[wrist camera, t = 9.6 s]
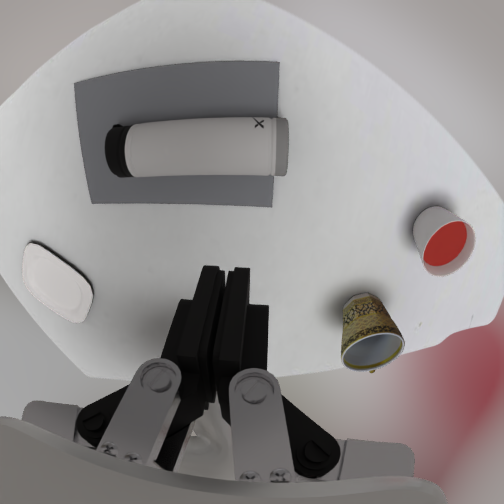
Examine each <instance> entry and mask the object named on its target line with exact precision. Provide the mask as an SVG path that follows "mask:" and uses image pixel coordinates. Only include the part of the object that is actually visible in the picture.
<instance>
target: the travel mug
mask: <svg viewBox="0 0 504 504" xmlns="http://www.w3.org/2000/svg"><path fill="white" fill-rule="evenodd" d="M104 148H105V157H106V161H107V164H108V167H109V169H110V171H111V172H112V173H113V174H114V175H117V177H119V178H126V177H153V176H180V175H262V176H268V175H270V174H271V175H272V176H285V175H286V173H287V166H288V149H289V127H288V120H287V119H286V118H273V119H270V118H265V117H224V118H198V119H182V120H169V121H158V122H149V123H142V124H135V125H130V126H122V125H120V124H115V125H113V127H112V129H110V130H109V131H108V133H107V135H106V139H105V147H104Z"/></svg>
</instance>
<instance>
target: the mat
mask: <svg viewBox="0 0 504 504" xmlns="http://www.w3.org/2000/svg"><path fill="white" fill-rule="evenodd" d="M279 64H280V62H261V61H218V62H198V63H185V64H174V65H165V66H157V67H150V68H143V69H137V70H131V71H125V72H120V73H115V74H110V75H106V76H101V77H97V78H93V79H89V80H85V81H81V82H77V83H74V88H75V101H76V112H77V121H78V129H79V137H80V144H81V150H82V157H83V162H84V168H85V173H86V179H87V184H88V188H89V193H90V198H91V202H92V204H106V203H159V204H206V205H234V206H255V207H272V199H273V183H274V176H272V175H271V174H270V175H268V176H262V175H180V176H153V177H126V178H119V177H117V175H114V174H113V173H112V172H111V171H110V169H109V167H108V164H107V161H106V157H105V148H104V147H105V139H106V135H107V133H108V131H109V130H110V129H112V127H113V125H115V124H120V125H122V126H130V125H135V124H142V123H149V122H158V121H169V120H182V119H198V118H224V117H265V118H270V119H273V118H277V110H278V88H279Z"/></svg>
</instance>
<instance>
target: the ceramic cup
mask: <svg viewBox="0 0 504 504" xmlns="http://www.w3.org/2000/svg"><path fill="white" fill-rule="evenodd" d="M404 346H405V342H404V339H403V337H402V335H401V333H400V331H399V329H398V328H397V326H396V324H395V323H394V321H393V320H392V319H391V317H390V315H389V313H388V312H387V310H386V309H385V307H384V306H383V304H382V302H381V301H380V299H379V298H377V297H375V296H373V295H371V294H369V293H364V294H359V295H355V296H353V297H352V298H351V299H350V300H349V301H348V302H347V303H346V304H345V305H344V307H343V334H342V345H341V361H342V364H343V365H344V366H345V367H346V368H347V369H350V370H353V371H369V372H370V373H373V372H375V369H379V368H381V367H384V366H386V365H387V364H389V363H391V362H392V361H394V360H395V359H396V358H397V357H398V356H399V355H400V354H401V353H402V351H403V349H404Z"/></svg>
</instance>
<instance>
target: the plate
mask: <svg viewBox="0 0 504 504" xmlns="http://www.w3.org/2000/svg"><path fill="white" fill-rule="evenodd" d="M22 276H23V281H24V284H25V286H26V288H27V289H28V290H29V292H30V293H31V294H32V295H33V296H34V297H35V298H36V299H38V300H39V301H40V302H41V303H43V304H44V305H45V306H47V307H48V308H49V309H51V310H52V311H54V312H55V313H57V314H58V315H60V316H61V317H63V318H65V319H66V320H68V321H71V322H74V323H81V322H83V321H84V320H85V318H86V317H87V314H88V312H89V310H90V307H91V304H92V300H93V292H92V288H91V285H90V284H89V283H88V282H87V280H86V279H85V278H84V277H83V276H82V275H81V274H80V273H79V272H78V271H76V270H75V269H74V268H73V267H71V266H70V265H69V264H67V263H66V262H64V261H63V260H62V259H60V258H59V257H58V256H56V255H55V254H53V253H52V252H51V251H49V250H47V249H46V248H44V247H43V246H41V245H39V244H35V243H29V244H28V245H27V246H26V247H25V250H24V254H23V264H22Z"/></svg>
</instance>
